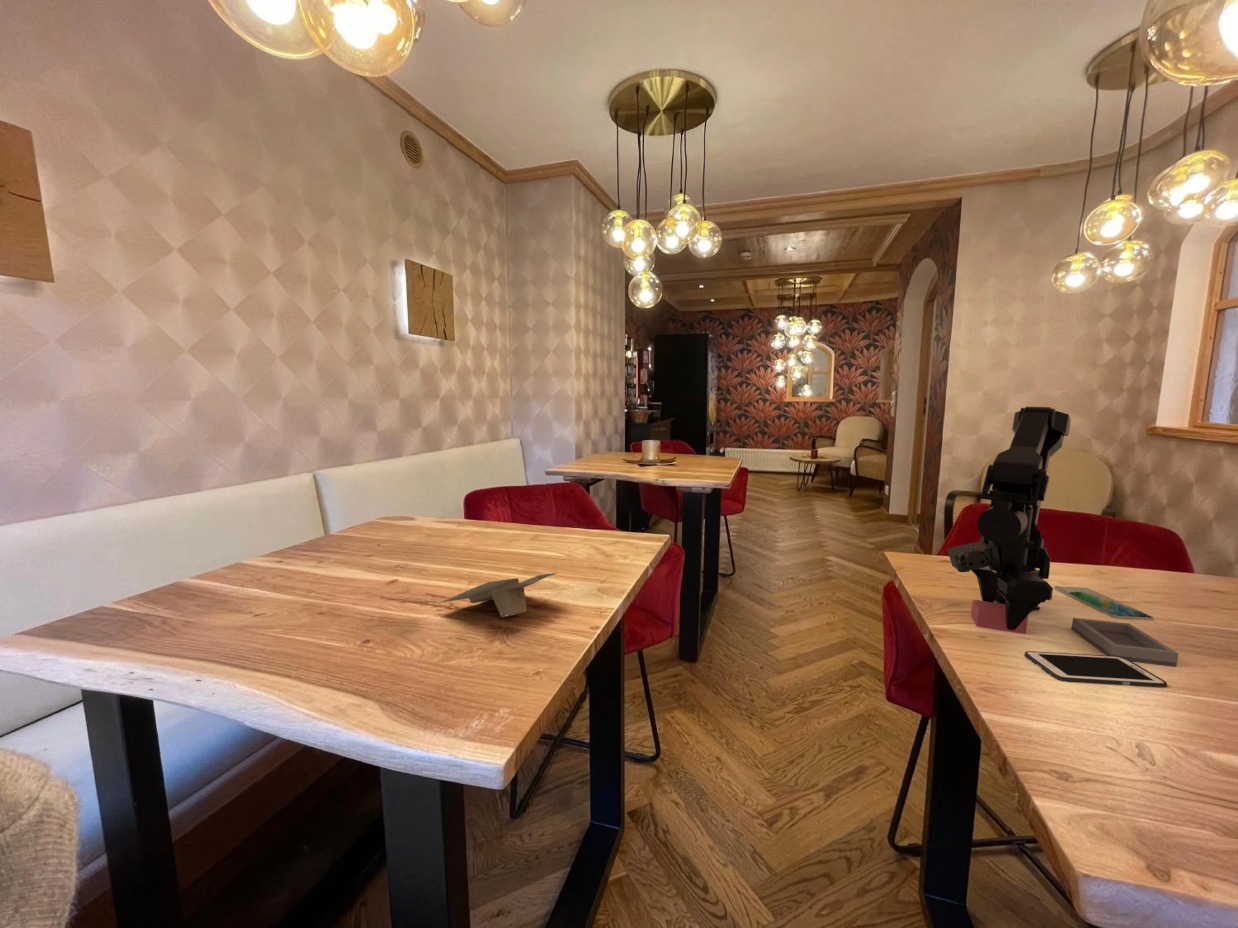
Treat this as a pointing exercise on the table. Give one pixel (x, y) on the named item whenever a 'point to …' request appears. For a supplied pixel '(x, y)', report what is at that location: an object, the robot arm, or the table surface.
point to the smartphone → (1103, 603)
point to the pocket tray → (1124, 641)
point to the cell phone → (1094, 669)
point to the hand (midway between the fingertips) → (998, 618)
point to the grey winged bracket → (501, 594)
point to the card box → (993, 616)
